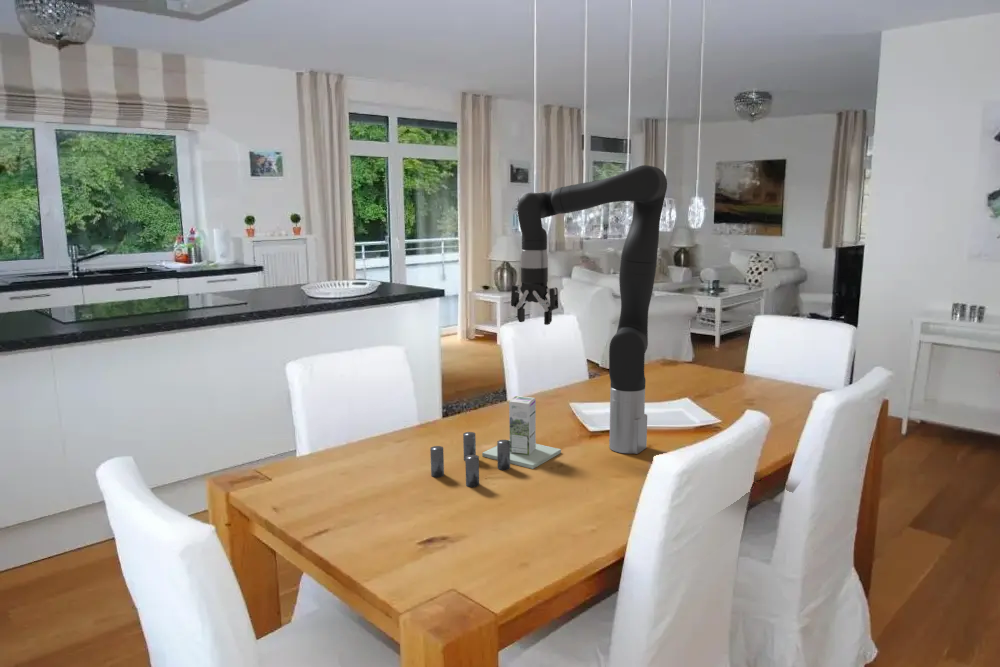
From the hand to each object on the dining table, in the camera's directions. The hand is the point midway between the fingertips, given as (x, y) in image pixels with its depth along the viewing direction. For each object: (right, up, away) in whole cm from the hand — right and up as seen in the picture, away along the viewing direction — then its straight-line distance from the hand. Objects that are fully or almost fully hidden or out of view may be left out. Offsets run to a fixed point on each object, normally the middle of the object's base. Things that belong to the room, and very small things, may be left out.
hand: (534, 323), depth 199 cm
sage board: (-4, -35, -11) cm, 37 cm away
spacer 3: (-16, -39, -30) cm, 52 cm away
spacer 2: (-18, -36, -14) cm, 43 cm away
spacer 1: (-25, -38, -24) cm, 52 cm away
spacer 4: (-9, -37, -20) cm, 43 cm away
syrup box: (-4, -35, -11) cm, 37 cm away
